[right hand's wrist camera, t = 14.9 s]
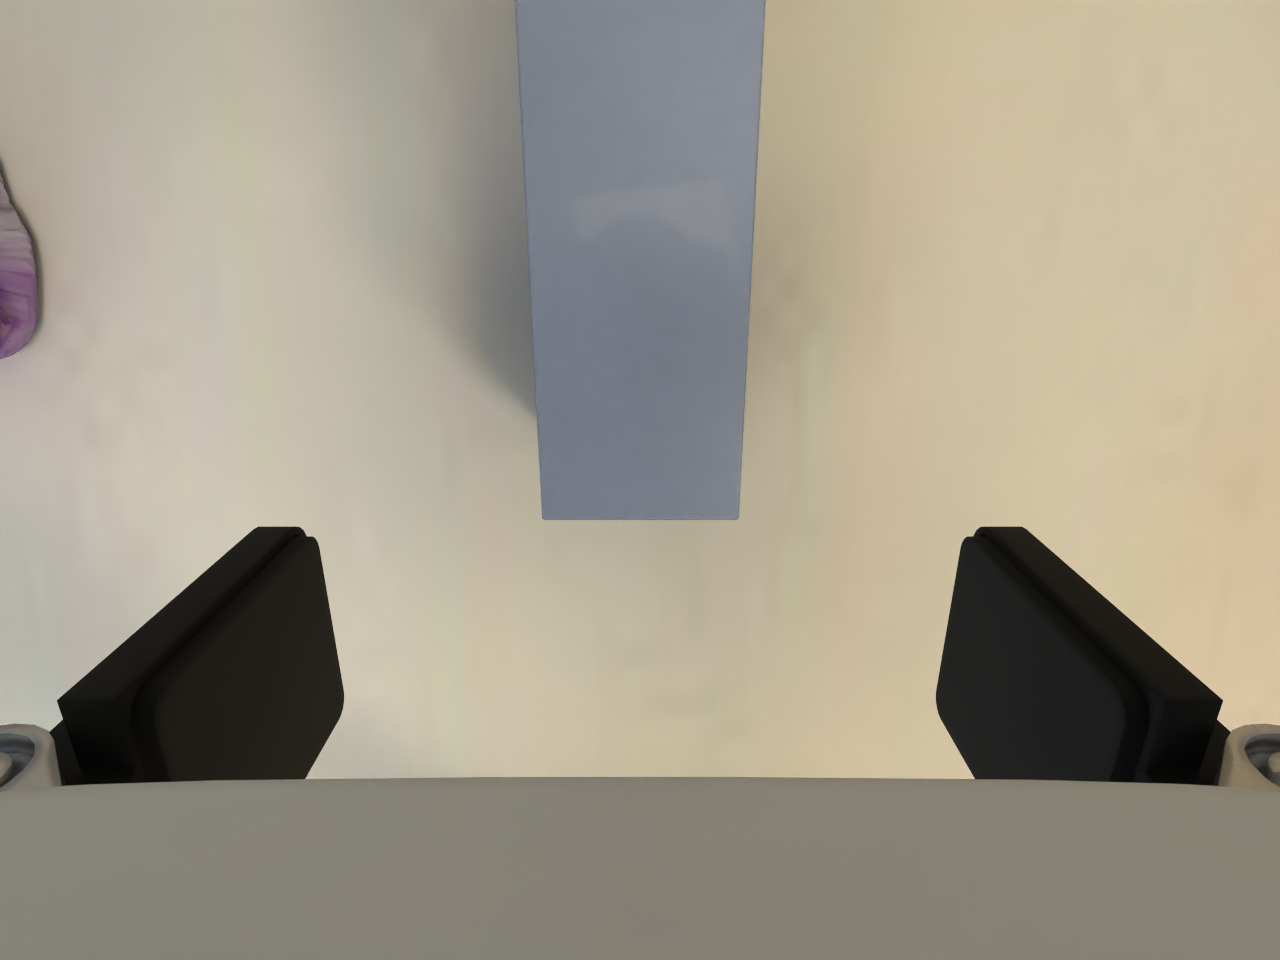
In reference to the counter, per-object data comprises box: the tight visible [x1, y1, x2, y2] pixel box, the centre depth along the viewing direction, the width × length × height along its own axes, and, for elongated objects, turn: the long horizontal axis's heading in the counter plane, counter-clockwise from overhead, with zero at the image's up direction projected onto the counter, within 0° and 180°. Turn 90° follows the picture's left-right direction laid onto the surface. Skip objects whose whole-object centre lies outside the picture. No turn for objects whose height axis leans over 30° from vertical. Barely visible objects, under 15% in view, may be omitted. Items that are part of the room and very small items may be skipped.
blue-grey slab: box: [515, 0, 766, 520], centre depth 26 cm, size 16×7×8 cm, turn 0°
